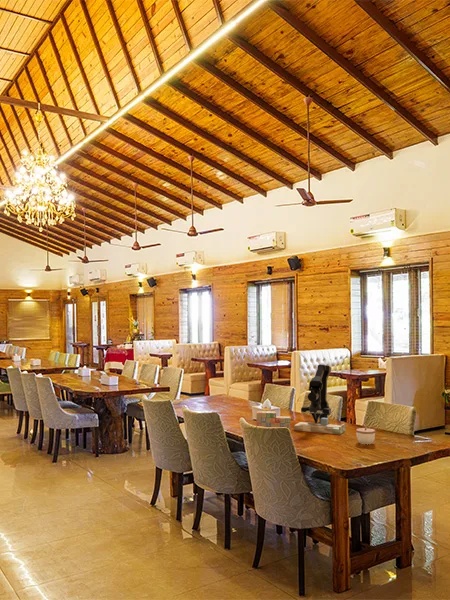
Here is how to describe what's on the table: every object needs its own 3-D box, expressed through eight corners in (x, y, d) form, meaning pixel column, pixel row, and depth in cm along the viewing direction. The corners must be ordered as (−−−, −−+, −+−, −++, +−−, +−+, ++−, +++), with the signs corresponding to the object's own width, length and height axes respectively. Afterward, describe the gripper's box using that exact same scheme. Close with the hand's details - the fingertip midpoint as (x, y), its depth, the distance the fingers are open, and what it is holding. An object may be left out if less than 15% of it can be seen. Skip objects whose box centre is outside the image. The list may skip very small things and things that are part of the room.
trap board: (300, 426, 370) (300, 419, 370) (345, 430, 357) (345, 423, 357) (293, 430, 358) (293, 423, 358) (340, 434, 345) (340, 427, 345)
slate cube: (322, 423, 364) (322, 417, 364) (328, 424, 362) (328, 418, 362) (320, 424, 360) (320, 418, 360) (326, 425, 358) (326, 419, 358)
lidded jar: (362, 446, 315) (361, 429, 315) (352, 441, 325) (352, 425, 325) (378, 444, 318) (378, 428, 318) (369, 440, 328) (369, 424, 328)
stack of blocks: (290, 431, 356) (290, 411, 356) (290, 433, 350) (290, 413, 350) (257, 429, 359) (257, 410, 359) (256, 431, 353) (256, 412, 353)
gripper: (298, 400, 359) (298, 424, 359) (326, 402, 351) (326, 426, 351) (303, 397, 369) (303, 421, 369) (331, 399, 361) (331, 423, 361)
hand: (316, 423), depth 362 cm, fingers closed
